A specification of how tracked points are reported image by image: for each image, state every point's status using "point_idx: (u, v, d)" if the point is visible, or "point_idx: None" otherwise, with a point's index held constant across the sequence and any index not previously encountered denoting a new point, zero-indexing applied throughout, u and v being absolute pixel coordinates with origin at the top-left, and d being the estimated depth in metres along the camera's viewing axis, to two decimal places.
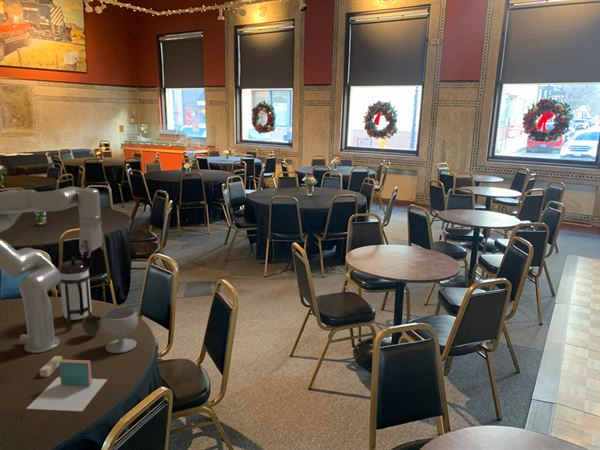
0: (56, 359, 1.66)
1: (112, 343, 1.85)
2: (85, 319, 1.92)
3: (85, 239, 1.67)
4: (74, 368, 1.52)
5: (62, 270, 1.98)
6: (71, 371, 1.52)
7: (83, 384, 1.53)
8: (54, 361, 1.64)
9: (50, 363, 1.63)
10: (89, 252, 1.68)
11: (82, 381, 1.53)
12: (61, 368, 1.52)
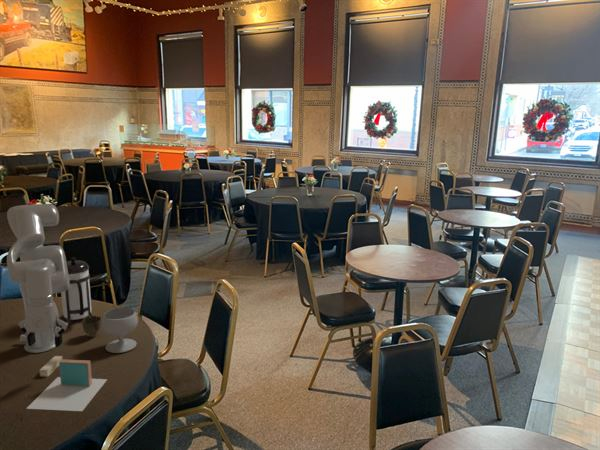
0: (56, 359, 1.66)
1: (112, 343, 1.85)
2: (85, 319, 1.92)
3: (56, 316, 1.56)
4: (74, 368, 1.52)
5: None
6: (71, 371, 1.52)
7: (83, 384, 1.53)
8: (54, 361, 1.64)
9: (50, 363, 1.63)
10: (60, 328, 1.59)
11: (82, 381, 1.53)
12: (61, 368, 1.52)
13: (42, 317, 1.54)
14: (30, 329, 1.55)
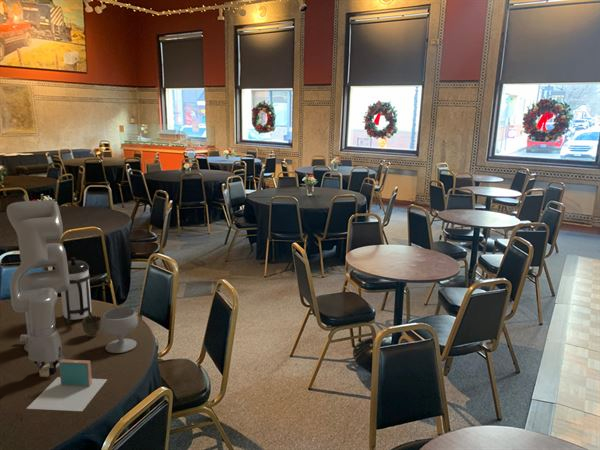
0: None
1: (112, 343, 1.85)
2: (85, 319, 1.92)
3: (59, 345, 1.59)
4: (74, 368, 1.52)
5: None
6: (71, 371, 1.52)
7: (83, 384, 1.53)
8: None
9: None
10: None
11: (82, 381, 1.53)
12: (61, 368, 1.52)
13: (45, 347, 1.56)
14: (33, 358, 1.57)
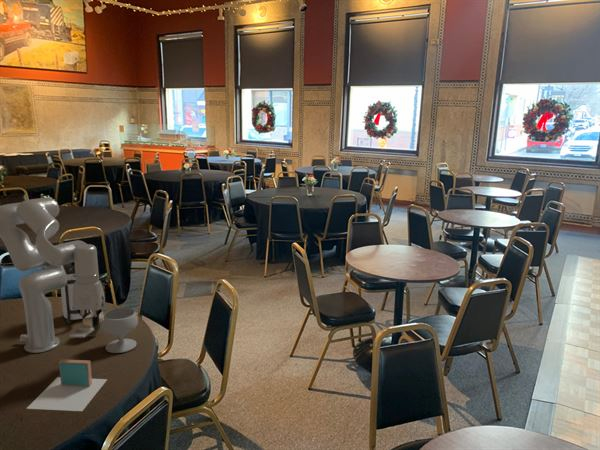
0: None
1: (112, 343, 1.85)
2: None
3: (102, 294, 1.62)
4: (74, 368, 1.52)
5: None
6: (71, 371, 1.52)
7: (83, 384, 1.53)
8: None
9: (92, 314, 1.66)
10: None
11: (82, 381, 1.53)
12: (61, 368, 1.52)
13: (89, 295, 1.59)
14: (77, 306, 1.61)
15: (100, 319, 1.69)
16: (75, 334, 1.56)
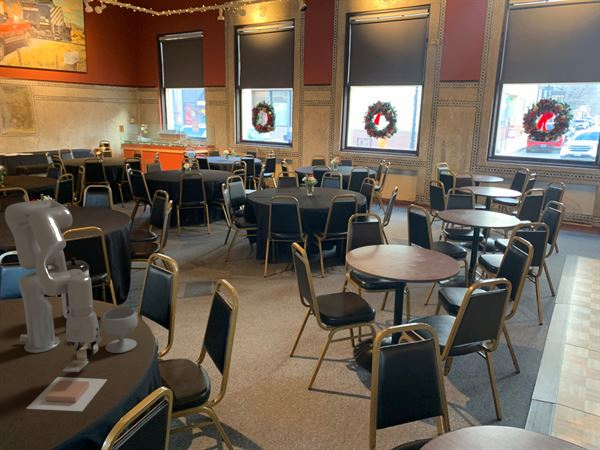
0: None
1: (112, 343, 1.85)
2: None
3: (97, 326, 1.58)
4: None
5: None
6: None
7: None
8: None
9: (86, 346, 1.61)
10: None
11: None
12: None
13: (83, 327, 1.55)
14: (71, 339, 1.56)
15: (94, 350, 1.64)
16: (69, 368, 1.51)
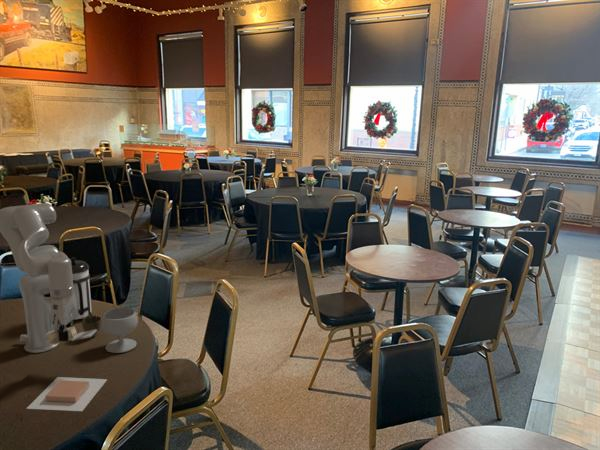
0: (53, 331, 1.63)
1: (112, 343, 1.85)
2: (85, 319, 1.92)
3: None
4: None
5: None
6: None
7: None
8: None
9: None
10: None
11: None
12: None
13: (73, 304, 1.62)
14: (67, 320, 1.58)
15: None
16: (89, 333, 1.61)
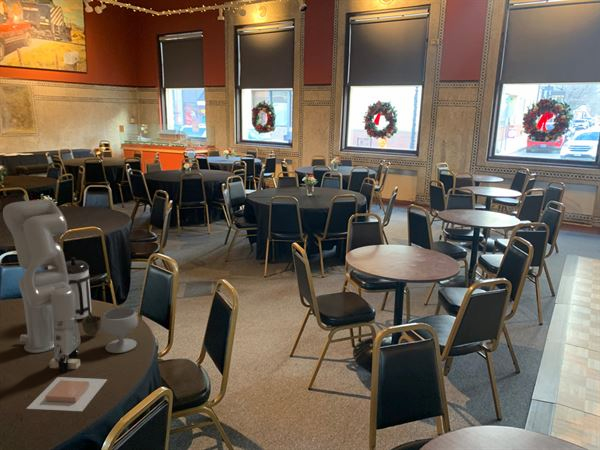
0: None
1: (112, 343, 1.85)
2: (85, 319, 1.92)
3: None
4: None
5: None
6: None
7: None
8: None
9: None
10: None
11: None
12: None
13: (75, 333, 1.64)
14: (70, 351, 1.61)
15: None
16: None
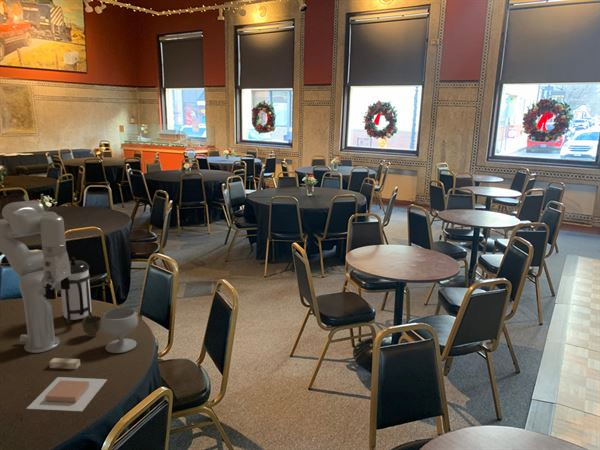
0: (58, 359, 1.66)
1: (112, 343, 1.85)
2: (85, 319, 1.92)
3: None
4: None
5: None
6: None
7: None
8: (62, 359, 1.66)
9: (65, 360, 1.65)
10: None
11: None
12: None
13: (65, 262, 1.64)
14: (59, 278, 1.60)
15: None
16: None
